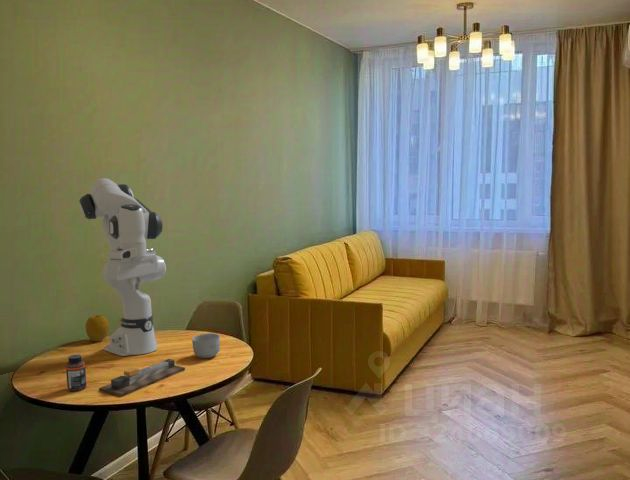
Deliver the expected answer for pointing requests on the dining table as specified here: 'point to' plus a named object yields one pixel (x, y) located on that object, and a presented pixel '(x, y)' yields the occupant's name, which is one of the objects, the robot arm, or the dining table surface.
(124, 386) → the board
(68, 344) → the dining table surface
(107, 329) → the apple
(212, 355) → the teacup
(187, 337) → the dining table surface
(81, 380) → the supplement bottle
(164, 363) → the tongs arm
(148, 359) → the dining table surface
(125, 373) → the tab
